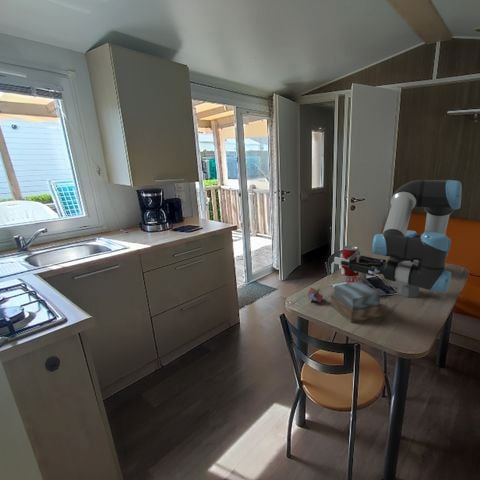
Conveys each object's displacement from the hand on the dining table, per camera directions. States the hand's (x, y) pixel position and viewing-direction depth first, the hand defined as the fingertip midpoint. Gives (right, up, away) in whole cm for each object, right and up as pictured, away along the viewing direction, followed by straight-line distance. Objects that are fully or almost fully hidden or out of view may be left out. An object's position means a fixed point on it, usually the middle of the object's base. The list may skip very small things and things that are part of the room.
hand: (337, 258), depth 121 cm
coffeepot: (+39, -18, +17) cm, 46 cm away
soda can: (+4, -7, -1) cm, 8 cm away
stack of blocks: (+19, -16, +29) cm, 38 cm away
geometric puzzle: (-6, -21, +14) cm, 26 cm away
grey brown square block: (+9, -23, +5) cm, 25 cm away
